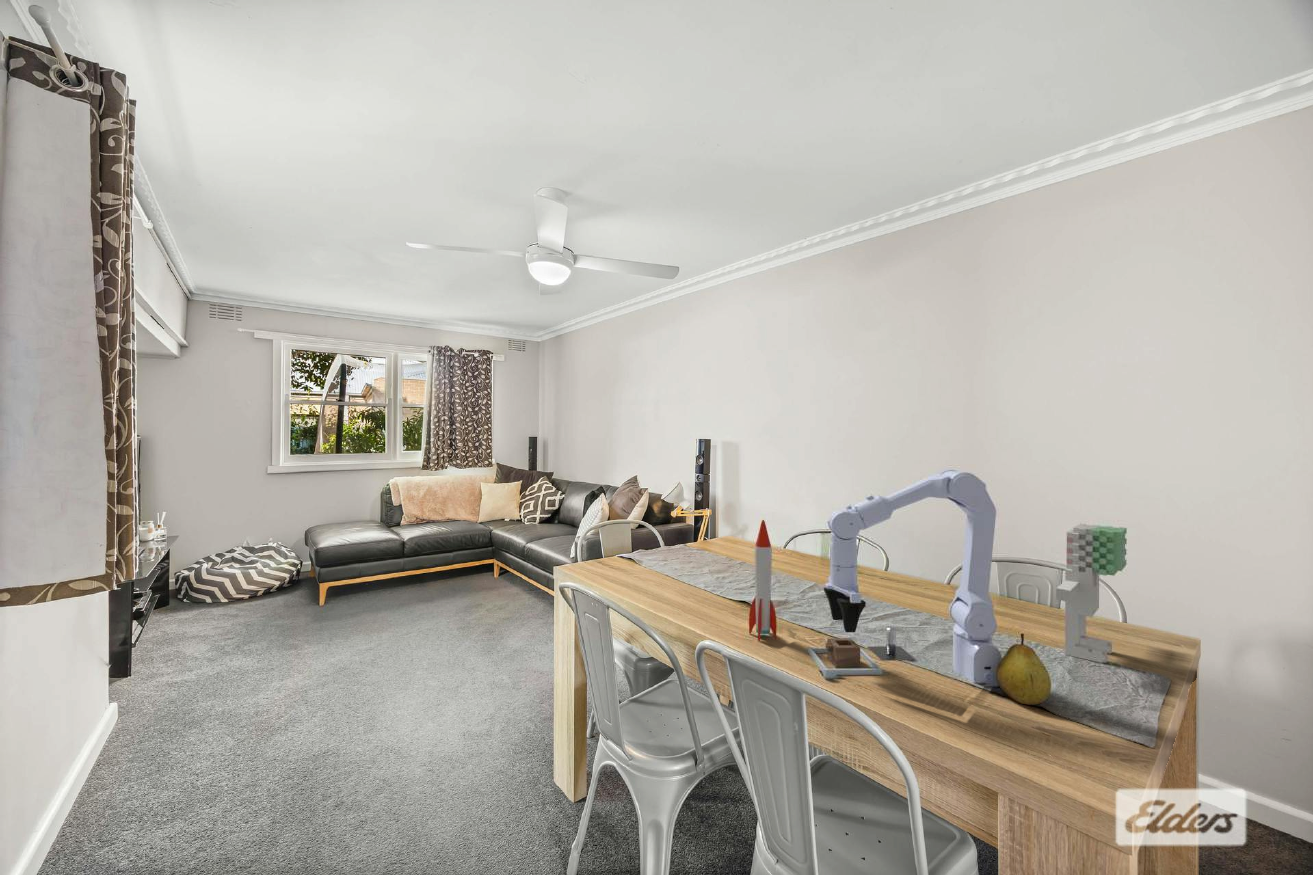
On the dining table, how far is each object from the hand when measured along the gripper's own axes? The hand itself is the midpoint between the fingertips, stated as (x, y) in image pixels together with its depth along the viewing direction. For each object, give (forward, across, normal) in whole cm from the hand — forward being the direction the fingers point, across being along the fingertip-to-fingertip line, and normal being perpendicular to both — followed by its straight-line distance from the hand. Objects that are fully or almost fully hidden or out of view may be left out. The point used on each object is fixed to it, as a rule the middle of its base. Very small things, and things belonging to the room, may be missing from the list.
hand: (843, 625), depth 122 cm
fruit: (+10, +15, +30) cm, 35 cm away
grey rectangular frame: (+9, 0, 0) cm, 9 cm away
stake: (+9, -5, +13) cm, 17 cm away
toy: (+10, -6, +62) cm, 63 cm away
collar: (+9, 0, 0) cm, 9 cm away
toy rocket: (+9, -19, -14) cm, 25 cm away
